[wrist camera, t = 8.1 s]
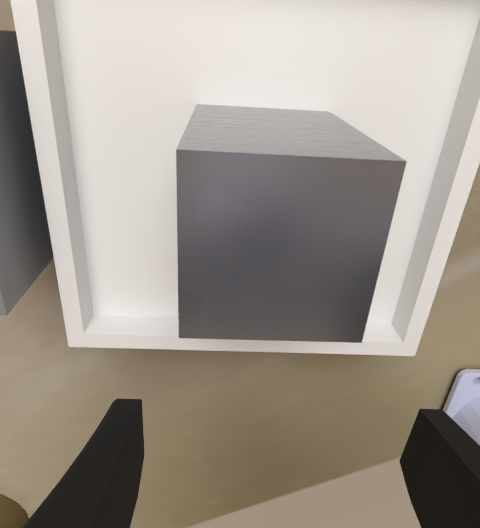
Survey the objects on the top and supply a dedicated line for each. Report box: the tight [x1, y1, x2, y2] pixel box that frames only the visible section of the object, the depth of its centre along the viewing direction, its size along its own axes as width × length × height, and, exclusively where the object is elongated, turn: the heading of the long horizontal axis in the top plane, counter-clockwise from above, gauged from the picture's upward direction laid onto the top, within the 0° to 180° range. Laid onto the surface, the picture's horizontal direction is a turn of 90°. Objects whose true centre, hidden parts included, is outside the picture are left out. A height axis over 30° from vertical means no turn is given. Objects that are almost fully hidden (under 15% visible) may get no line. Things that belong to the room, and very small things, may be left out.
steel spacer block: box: [176, 104, 407, 343], centre depth 11 cm, size 4×4×6 cm
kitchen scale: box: [0, 0, 480, 356], centre depth 13 cm, size 16×14×7 cm
